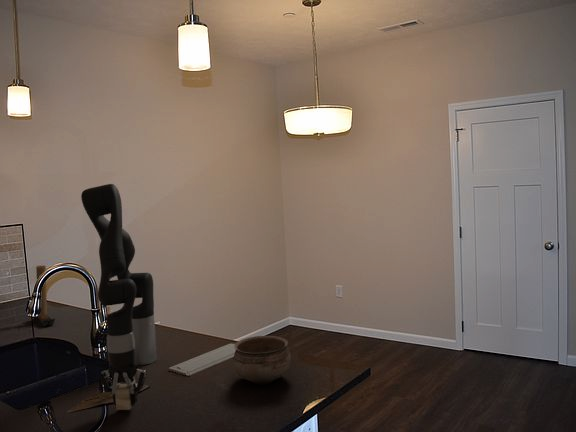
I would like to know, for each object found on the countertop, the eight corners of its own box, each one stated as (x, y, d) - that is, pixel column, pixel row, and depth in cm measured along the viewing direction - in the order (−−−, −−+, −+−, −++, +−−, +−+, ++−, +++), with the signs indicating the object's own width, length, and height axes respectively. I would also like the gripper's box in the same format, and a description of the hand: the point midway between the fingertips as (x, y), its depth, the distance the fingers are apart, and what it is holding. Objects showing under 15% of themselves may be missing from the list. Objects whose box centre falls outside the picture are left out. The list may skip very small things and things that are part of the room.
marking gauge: (131, 392, 163) (130, 374, 162) (144, 392, 163) (142, 373, 162) (116, 409, 151) (114, 389, 151) (129, 409, 151) (128, 389, 150)
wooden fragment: (143, 382, 175) (143, 379, 175) (156, 392, 166) (155, 389, 166) (61, 406, 159) (61, 402, 159) (71, 418, 151) (70, 415, 151)
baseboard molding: (253, 352, 201) (230, 347, 208) (252, 344, 201) (230, 340, 208) (191, 379, 177) (168, 372, 184) (190, 370, 176) (168, 364, 184)
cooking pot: (309, 383, 167) (307, 346, 166) (260, 401, 155) (258, 361, 154) (264, 363, 187) (263, 329, 186) (218, 377, 175) (216, 342, 174)
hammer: (55, 330, 250) (53, 271, 244) (44, 332, 247) (42, 273, 241) (41, 316, 265) (40, 260, 258) (31, 318, 261) (29, 261, 255)
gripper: (149, 343, 155) (153, 399, 156) (103, 344, 156) (107, 399, 157) (140, 351, 147) (144, 410, 149) (92, 352, 148) (96, 411, 150)
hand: (125, 404), depth 153 cm, fingers closed on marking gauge, 4 cm apart
